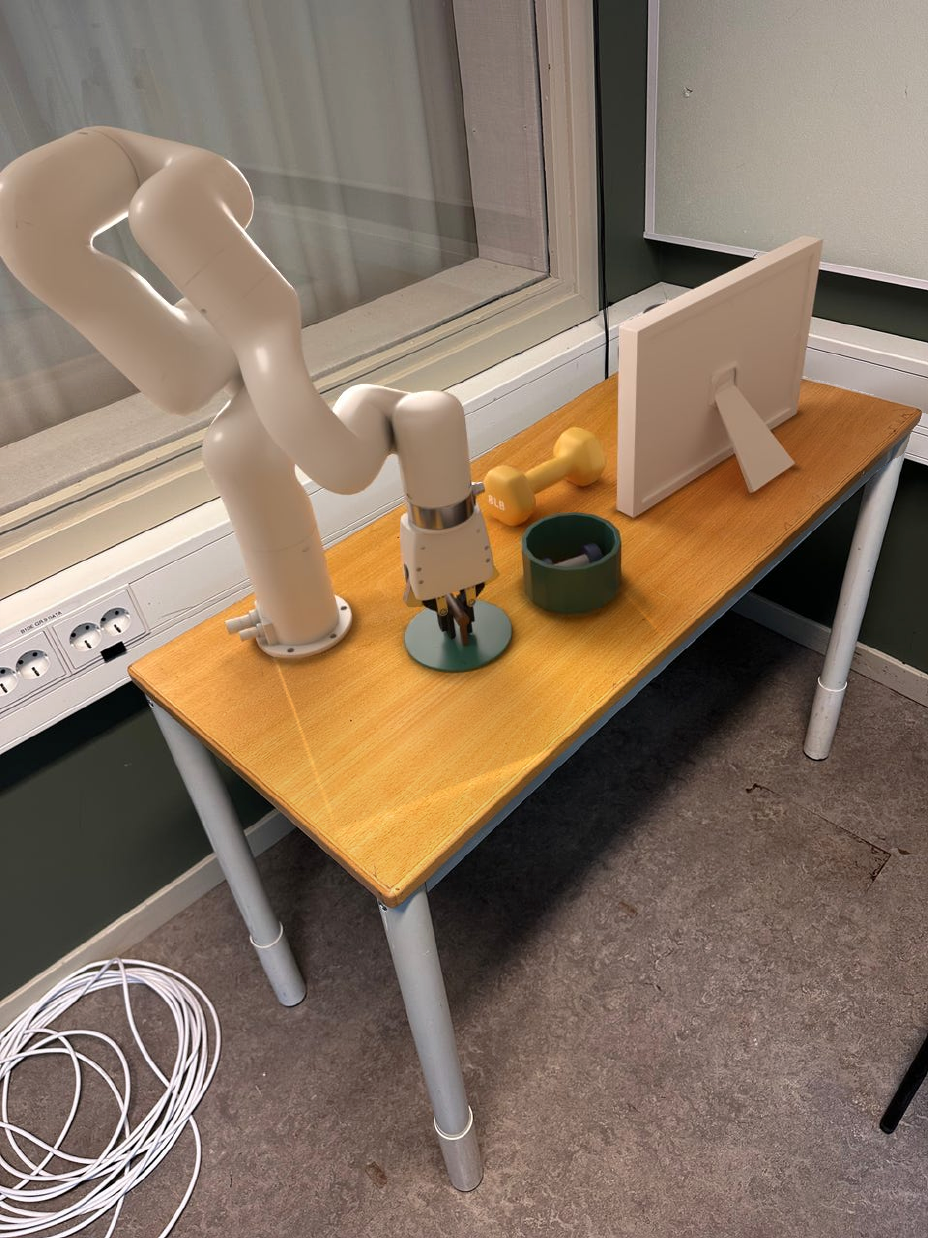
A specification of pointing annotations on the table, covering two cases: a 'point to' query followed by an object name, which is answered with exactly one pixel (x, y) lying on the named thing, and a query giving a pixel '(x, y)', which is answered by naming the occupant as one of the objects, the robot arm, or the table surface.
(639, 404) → the picture frame
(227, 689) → the table surface
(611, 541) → the pot
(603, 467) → the dumbbell
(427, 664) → the lid
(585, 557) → the toy dumbbell
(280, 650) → the robot arm
